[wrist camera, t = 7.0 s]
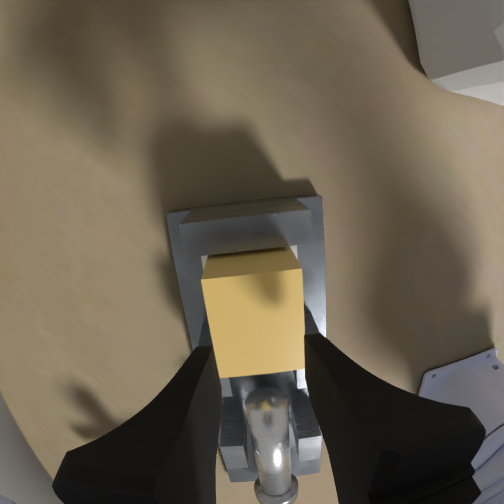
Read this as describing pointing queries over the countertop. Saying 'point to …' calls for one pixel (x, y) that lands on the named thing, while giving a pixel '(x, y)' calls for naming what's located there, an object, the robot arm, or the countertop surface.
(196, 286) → the metal support fixture
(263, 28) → the countertop surface
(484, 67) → the soap bottle
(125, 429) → the robot arm
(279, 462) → the shaft
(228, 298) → the block
